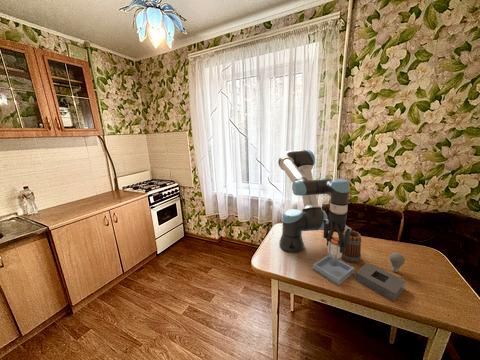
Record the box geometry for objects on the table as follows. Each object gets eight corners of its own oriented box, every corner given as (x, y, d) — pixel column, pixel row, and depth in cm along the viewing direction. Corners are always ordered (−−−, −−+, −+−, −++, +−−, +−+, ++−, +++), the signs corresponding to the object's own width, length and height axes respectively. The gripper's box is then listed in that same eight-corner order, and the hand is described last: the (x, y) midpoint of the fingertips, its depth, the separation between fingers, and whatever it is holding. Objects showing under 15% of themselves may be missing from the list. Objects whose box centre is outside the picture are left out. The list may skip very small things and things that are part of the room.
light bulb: (400, 268, 102) (403, 251, 99) (404, 276, 96) (407, 258, 94) (386, 266, 104) (388, 249, 102) (389, 273, 99) (392, 255, 96)
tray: (312, 269, 104) (312, 264, 103) (328, 259, 111) (328, 254, 110) (338, 285, 92) (338, 280, 92) (353, 273, 100) (354, 268, 99)
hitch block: (354, 279, 96) (355, 272, 95) (366, 269, 102) (367, 262, 101) (394, 301, 83) (395, 293, 82) (404, 288, 89) (406, 281, 88)
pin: (331, 259, 103) (333, 235, 100) (340, 264, 100) (342, 239, 97) (327, 263, 101) (328, 238, 98) (335, 267, 97) (337, 242, 94)
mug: (363, 264, 106) (366, 239, 102) (342, 262, 108) (344, 237, 105) (353, 247, 121) (356, 225, 117) (335, 246, 123) (337, 224, 119)
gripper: (317, 208, 99) (314, 249, 104) (352, 219, 85) (347, 266, 90) (326, 204, 103) (323, 244, 108) (361, 215, 89) (356, 260, 94)
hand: (334, 254), depth 99 cm, fingers closed on pin, 4 cm apart
